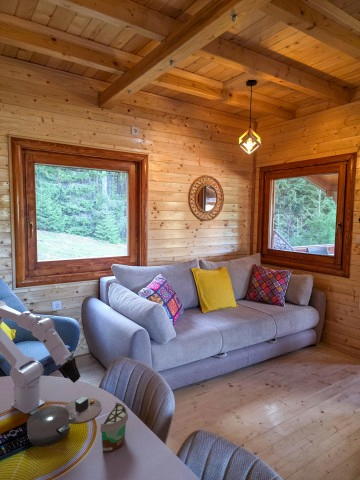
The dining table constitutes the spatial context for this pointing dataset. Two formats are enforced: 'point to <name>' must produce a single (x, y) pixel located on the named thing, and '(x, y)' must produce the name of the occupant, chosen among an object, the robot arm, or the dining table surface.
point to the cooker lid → (83, 409)
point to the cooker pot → (47, 425)
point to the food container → (114, 429)
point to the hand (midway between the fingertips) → (77, 379)
